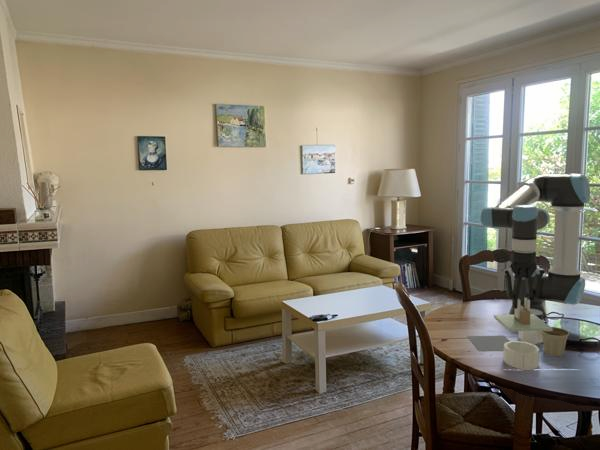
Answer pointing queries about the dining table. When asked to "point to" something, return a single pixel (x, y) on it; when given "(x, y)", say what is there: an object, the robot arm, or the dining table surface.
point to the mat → (488, 342)
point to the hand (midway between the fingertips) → (522, 317)
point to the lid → (523, 322)
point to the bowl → (521, 355)
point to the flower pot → (555, 341)
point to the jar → (532, 336)
